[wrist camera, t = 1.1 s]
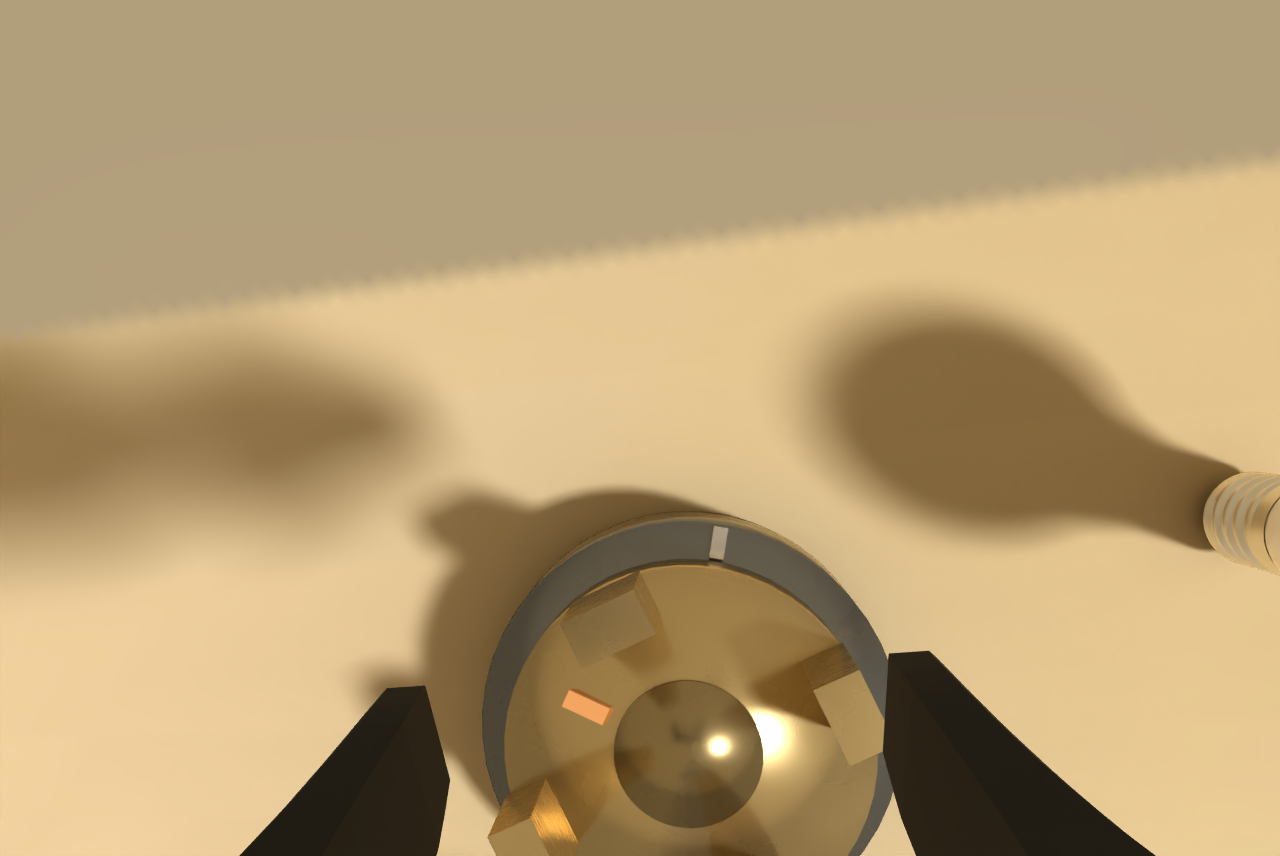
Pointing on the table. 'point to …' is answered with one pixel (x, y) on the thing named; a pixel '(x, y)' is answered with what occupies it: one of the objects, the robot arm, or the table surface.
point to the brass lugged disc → (688, 724)
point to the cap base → (683, 541)
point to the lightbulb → (1246, 520)
